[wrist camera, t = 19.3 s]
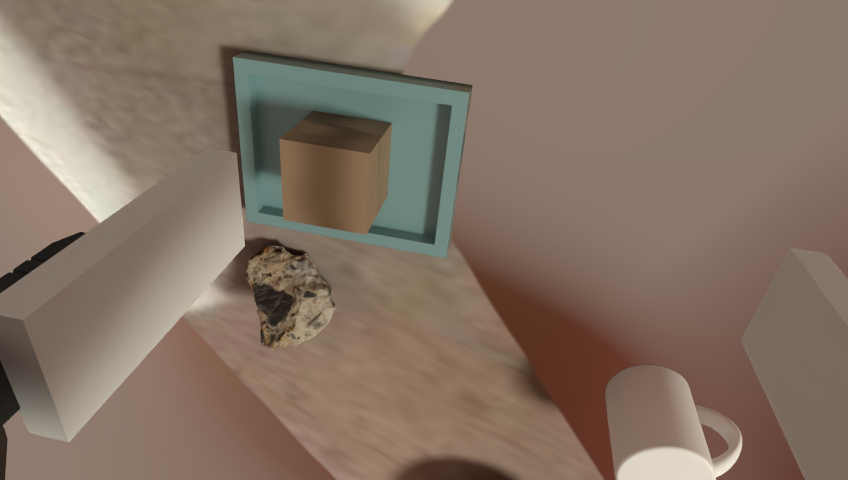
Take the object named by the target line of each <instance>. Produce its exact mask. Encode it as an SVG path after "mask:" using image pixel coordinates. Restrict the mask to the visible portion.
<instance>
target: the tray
mask: <svg viewBox="0 0 848 480" xmlns="http://www.w3.org/2000/svg"><path fill="white" fill-rule="evenodd" d="M233 67H234V78H235V90H236V102H237V113H238V125H239V137H240V149H241V160H242V172H243V184H244V195H245V207H246V219H247V221H248V222H253V223H259V224H264V225H269V226H275V227H280V228H286V229H291V230H296V231H302V232H307V233H313V234H318V235H323V236H329V237H334V238H340V239H345V240H350V241H356V242H361V243H367V244H372V245H377V246H383V247H388V248H394V249H399V250H404V251H410V252H415V253H421V254H426V255H431V256H437V257H442V258H446V256H447V253H448V249H449V246H450V239H451V232H452V224H453V217H454V211H455V204H456V197H457V190H458V183H459V176H460V169H461V162H462V155H463V148H464V141H465V134H466V127H467V120H468V113H469V106H470V99H471V92H472V85H468V84H461V83H454V82H448V81H441V80H434V79H428V78H421V77H414V76H408V75H401V74H394V73H388V72H381V71H374V70H367V69H361V68H354V67H347V66H341V65H334V64H327V63H321V62H314V61H307V60H301V59H294V58H287V57H281V56H274V55H267V54H261V53H254V52H247V51H245V52H242V53H240V54H238V55H236V56H234V57H233ZM311 111H319V112H326V113H332V114H339V115H345V116H351V117H358V118H364V119H371V120H377V121H383V122H390V123H392V133H391V149H390V164H389V180H388V195H387V198H386V200H385V202H384V204H383V206H382V207H381V209H380V211H379V213H378V215H377V216H376V218H375V220H374V222H373V224H372V226H371V227H370V229H369V231H368V233H367V235H364V234H359V233H353V232H348V231H342V230H337V229H331V228H326V227H320V226H314V225H309V224H303V223H298V222H292V221H287V220H283V203H282V182H281V162H280V141H279V139H280V138H281V137H282V136H283V135H285V134H286V133H287V132H288V131H289V130H290V129H292V128H293V127H294V126H295V125H296V124H297V123H299V122H300V121H301V120H302V119H303V118H304V117H306V116H307V115H308V114H309V113H310V112H311Z"/></svg>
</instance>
